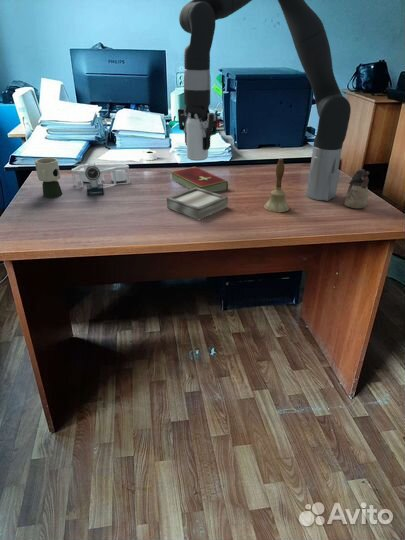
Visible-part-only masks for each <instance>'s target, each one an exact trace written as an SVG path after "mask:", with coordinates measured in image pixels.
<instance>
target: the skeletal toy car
mask: <svg viewBox="0 0 405 540" xmlns="http://www.w3.org/2000/svg"><path fill="white" fill-rule="evenodd" d="M95 165H97V167H98V169H99V171H100V172H101V173H102V174H101V177H100V178H99V182H98V184H103V186H105V188H108V187H113V186H117V185H123V184H124V185H126V184H127V185H128V184H130V183H131V179H130V170H129V169H130V166H129V165H128V164H127V163H126V164H125V163H113V164H112V163H111V164H103V163H102V164H99V163H95ZM87 166H88V164H82V165H77V166H76V167H74V168H71V176H72V182H73V187H77V181H76V176H75V174H77V175H79V180H80V187H81V189H83V188H84V186H85V185H84V182H85V183H89V181H88V179H87V177H86V175H85V171H86V169H87ZM107 173H110V179H111V181H112V182H113V184H112V183H109V184H106V183H105V184H104V183H102V181H103V182H105V181H106V179H105V174H107ZM117 182H118V183H117ZM119 182H120V183H119ZM121 182H122V183H121Z"/></svg>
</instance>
